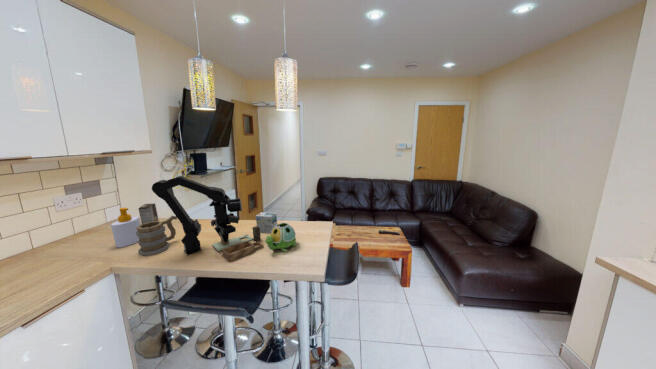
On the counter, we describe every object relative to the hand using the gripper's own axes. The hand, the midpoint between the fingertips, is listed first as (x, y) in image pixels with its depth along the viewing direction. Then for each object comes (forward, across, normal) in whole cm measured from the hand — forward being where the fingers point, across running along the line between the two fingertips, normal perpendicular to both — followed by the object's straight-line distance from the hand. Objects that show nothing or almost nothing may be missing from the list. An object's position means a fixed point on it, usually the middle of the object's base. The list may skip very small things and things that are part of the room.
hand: (224, 241), depth 127 cm
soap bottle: (+3, +46, +36) cm, 58 cm away
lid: (+3, 0, -4) cm, 5 cm away
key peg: (+3, -6, -15) cm, 17 cm away
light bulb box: (+3, +2, -26) cm, 26 cm away
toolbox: (+3, -14, -4) cm, 14 cm away
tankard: (+3, +26, +24) cm, 35 cm away
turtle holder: (+3, -24, -20) cm, 31 cm away
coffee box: (+3, +60, +24) cm, 64 cm away
